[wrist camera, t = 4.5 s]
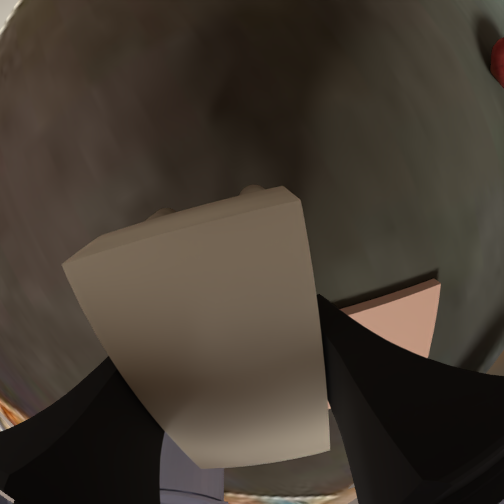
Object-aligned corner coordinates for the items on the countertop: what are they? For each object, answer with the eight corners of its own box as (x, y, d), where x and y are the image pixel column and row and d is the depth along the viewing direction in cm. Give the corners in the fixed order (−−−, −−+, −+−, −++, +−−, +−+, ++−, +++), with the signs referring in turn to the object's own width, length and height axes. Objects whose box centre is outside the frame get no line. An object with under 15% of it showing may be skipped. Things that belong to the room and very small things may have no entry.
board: (291, 410, 23) (293, 417, 22) (270, 326, 19) (272, 334, 18) (419, 368, 23) (423, 374, 22) (434, 278, 19) (440, 283, 18)
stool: (302, 352, 13) (329, 450, 8) (209, 370, 14) (200, 468, 8) (266, 173, 10) (301, 199, 5) (144, 206, 10) (61, 264, 5)
